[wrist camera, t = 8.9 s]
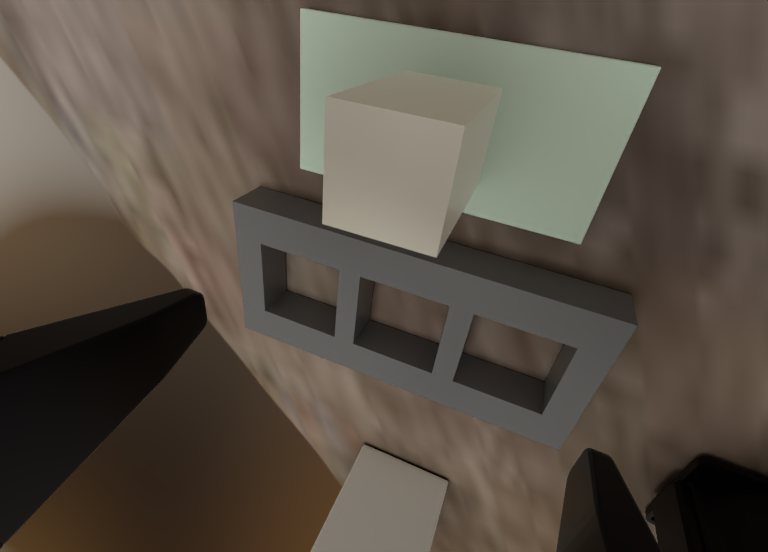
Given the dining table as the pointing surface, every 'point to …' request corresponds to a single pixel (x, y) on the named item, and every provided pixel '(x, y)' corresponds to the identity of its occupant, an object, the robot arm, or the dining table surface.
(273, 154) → the dining table surface
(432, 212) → the plug
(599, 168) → the mat
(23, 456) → the robot arm
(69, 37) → the dining table surface
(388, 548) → the milk carton
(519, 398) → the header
